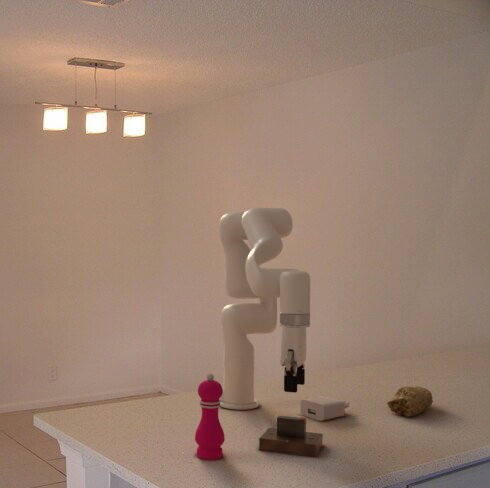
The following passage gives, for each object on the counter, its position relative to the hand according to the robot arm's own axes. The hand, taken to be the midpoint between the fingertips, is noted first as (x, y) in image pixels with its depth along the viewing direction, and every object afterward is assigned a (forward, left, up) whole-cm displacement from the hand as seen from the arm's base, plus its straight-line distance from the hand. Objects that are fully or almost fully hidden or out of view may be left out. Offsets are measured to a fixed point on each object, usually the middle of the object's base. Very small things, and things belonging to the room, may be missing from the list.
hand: (294, 388), depth 182 cm
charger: (+3, +36, -15) cm, 39 cm away
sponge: (+25, +51, -15) cm, 59 cm away
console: (-1, 0, -15) cm, 15 cm away
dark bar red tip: (-1, 0, -12) cm, 12 cm away
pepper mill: (-18, -14, -15) cm, 27 cm away
